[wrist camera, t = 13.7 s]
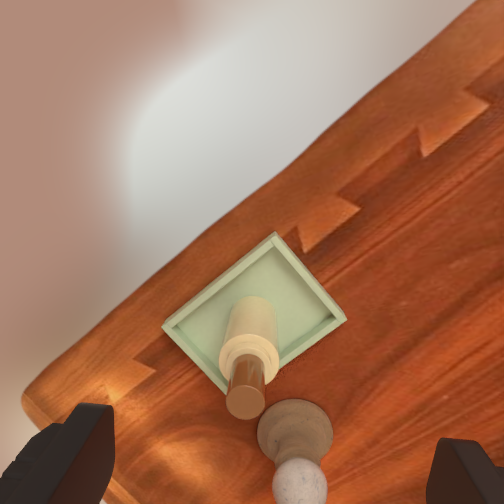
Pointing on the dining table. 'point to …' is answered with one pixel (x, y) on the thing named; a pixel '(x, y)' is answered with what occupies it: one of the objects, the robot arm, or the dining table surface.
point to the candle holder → (296, 450)
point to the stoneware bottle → (249, 355)
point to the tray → (262, 285)
